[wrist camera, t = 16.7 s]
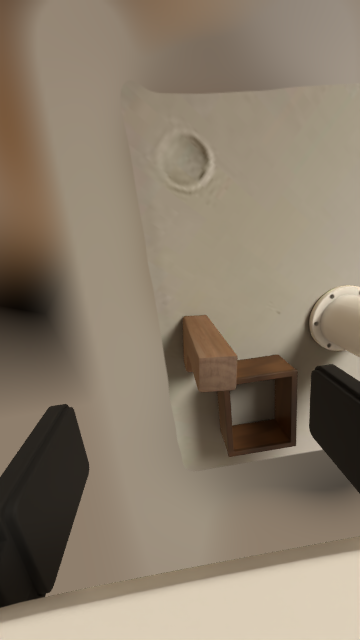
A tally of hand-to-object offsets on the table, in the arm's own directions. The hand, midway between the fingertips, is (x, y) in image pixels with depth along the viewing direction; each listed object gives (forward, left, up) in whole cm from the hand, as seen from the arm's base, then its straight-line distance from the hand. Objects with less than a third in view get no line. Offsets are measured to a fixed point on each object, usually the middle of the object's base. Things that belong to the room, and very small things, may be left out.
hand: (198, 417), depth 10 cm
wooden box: (-14, +24, -34) cm, 44 cm away
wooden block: (-4, +10, -34) cm, 36 cm away
